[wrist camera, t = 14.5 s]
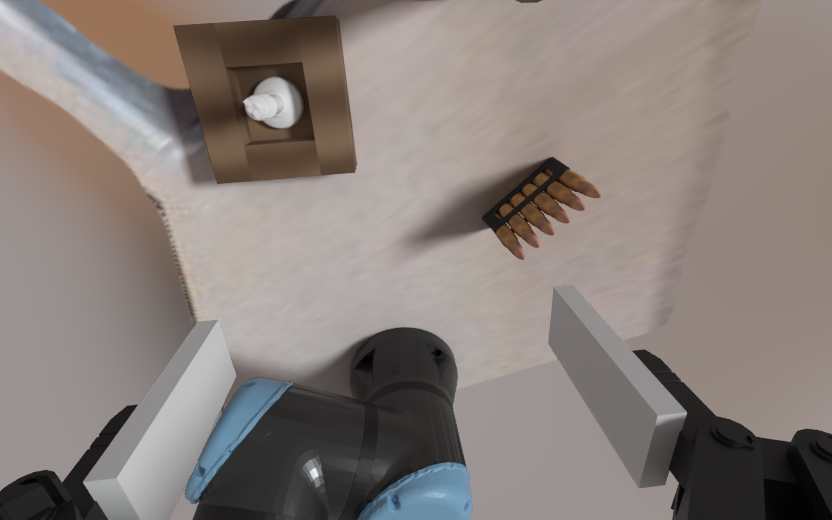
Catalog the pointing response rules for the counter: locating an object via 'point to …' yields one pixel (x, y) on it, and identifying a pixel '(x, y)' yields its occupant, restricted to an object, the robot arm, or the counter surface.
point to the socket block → (237, 80)
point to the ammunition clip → (538, 205)
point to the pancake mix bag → (528, 1)
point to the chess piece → (275, 103)
